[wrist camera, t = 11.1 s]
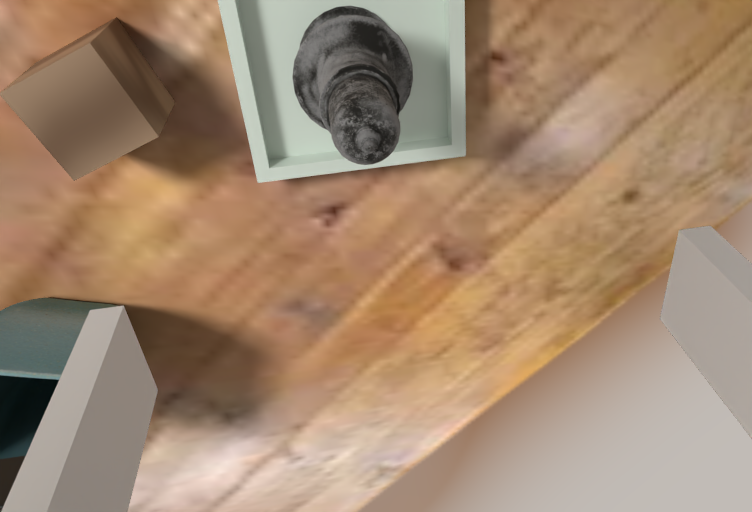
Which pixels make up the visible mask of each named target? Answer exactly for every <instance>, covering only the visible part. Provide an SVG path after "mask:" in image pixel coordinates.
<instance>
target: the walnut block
mask: <svg viewBox="0 0 752 512" xmlns="http://www.w3.org/2000/svg"><path fill="white" fill-rule="evenodd" d="M0 95H1V97H2V98H3V99H4V100H5V101H6V102H7V104H8V105H9V106H10V107H11V108H12V109H13V111H14V112H15V113H16V114H17V115H18V116H19V117H20V119H21V120H22V121H23V122H24V123H25V124H26V126H27V127H28V128H29V129H30V130H31V131H32V133H33V134H34V135H35V136H36V137H37V138H38V140H39V141H40V142H41V143H42V144H43V145H44V146H45V148H46V149H47V150H48V151H49V152H50V153H51V155H52V156H53V157H54V158H55V159H56V160H57V162H58V163H59V164H60V165H61V166H62V167H63V168H64V170H65V171H66V172H67V173H68V174H69V175H70V177H71V178H72V179H73V180H74V181H75V180H77V179H79V178H81V177H82V176H84V175H86V174H88V173H90V172H92V171H94V170H96V169H98V168H100V167H102V166H104V165H106V164H108V163H109V162H111V161H113V160H115V159H117V158H119V157H121V156H123V155H125V154H127V153H129V152H131V151H133V150H135V149H137V148H138V147H140V146H142V145H144V144H146V143H148V142H150V141H152V140H154V139H156V138H158V137H159V136H160V133H161V131H162V129H163V127H164V125H165V123H166V121H167V119H168V116H169V114H170V112H171V110H172V108H173V106H174V104H175V101H174V100H173V98H172V97H171V95H170V94H169V92H168V91H167V89H166V88H165V87H164V85H163V84H162V82H161V81H160V79H159V78H158V76H157V75H156V74H155V72H154V71H153V69H152V68H151V66H150V65H149V63H148V62H147V61H146V59H145V58H144V56H143V55H142V53H141V52H140V51H139V49H138V48H137V46H136V45H135V43H134V42H133V40H132V39H131V38H130V36H129V35H128V33H127V32H126V30H125V29H124V27H123V26H122V25H121V23H120V22H119V20H118V19H117V17H116V18H115V19H113V20H111V21H109V22H107V23H106V24H104V25H102V26H100V27H99V28H97V29H95V30H93V31H91V32H90V33H88V34H86V35H84V36H82V37H81V38H79V39H77V40H75V41H74V42H72V43H70V44H68V45H66V46H65V47H63V48H61V49H59V50H57V51H56V52H54V53H52V54H50V55H49V56H47V57H45V58H43V59H41V60H40V61H38V62H36V63H35V64H34V65H33V66H31V67H30V68H29V69H28V70H27V71H25V72H24V73H23V74H22V75H21V76H19V77H18V78H17V79H16V80H15V81H13V82H12V83H11V84H10V85H9V86H7V87H6V88H5V89H4V90H3V91H1V92H0Z"/></svg>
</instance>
